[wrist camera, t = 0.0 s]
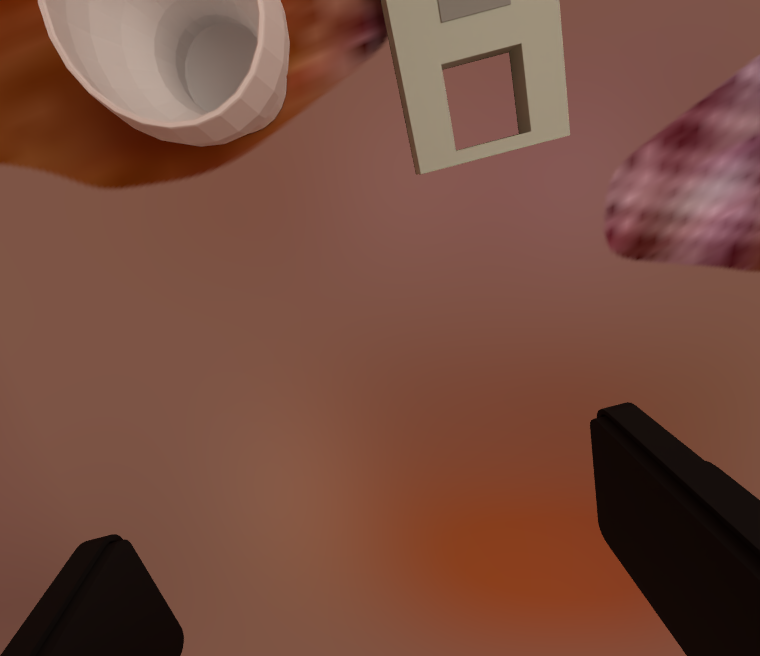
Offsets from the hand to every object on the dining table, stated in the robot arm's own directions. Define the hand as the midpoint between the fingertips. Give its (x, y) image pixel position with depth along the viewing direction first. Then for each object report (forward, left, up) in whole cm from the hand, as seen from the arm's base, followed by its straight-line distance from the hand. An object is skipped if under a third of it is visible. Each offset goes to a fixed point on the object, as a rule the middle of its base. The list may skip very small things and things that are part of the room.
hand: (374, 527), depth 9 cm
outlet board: (-13, +13, -31) cm, 36 cm away
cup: (-15, -5, -31) cm, 35 cm away
